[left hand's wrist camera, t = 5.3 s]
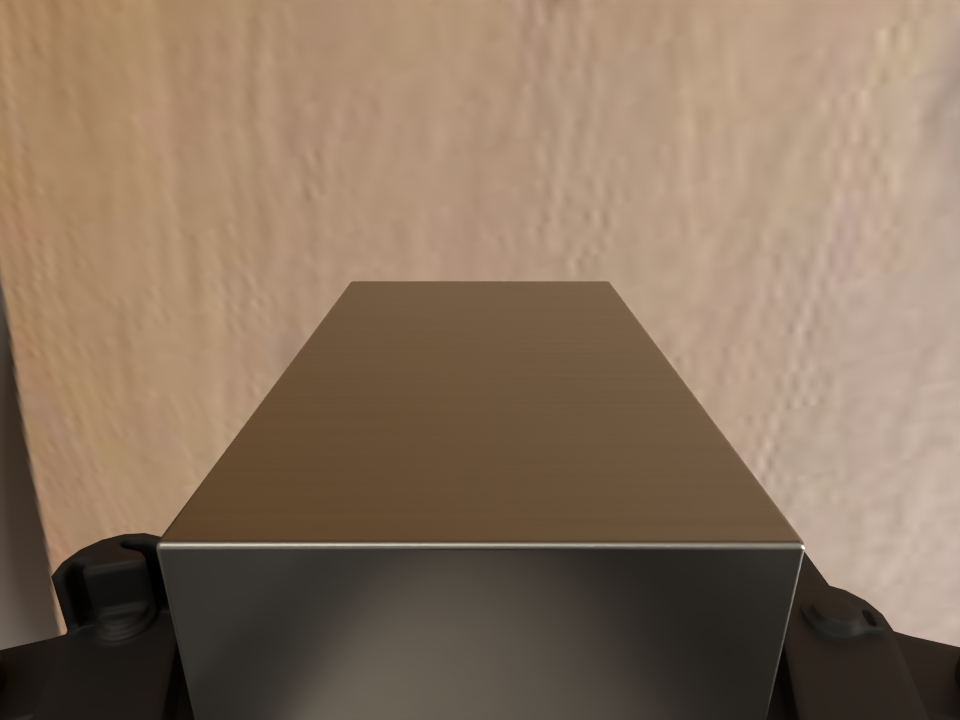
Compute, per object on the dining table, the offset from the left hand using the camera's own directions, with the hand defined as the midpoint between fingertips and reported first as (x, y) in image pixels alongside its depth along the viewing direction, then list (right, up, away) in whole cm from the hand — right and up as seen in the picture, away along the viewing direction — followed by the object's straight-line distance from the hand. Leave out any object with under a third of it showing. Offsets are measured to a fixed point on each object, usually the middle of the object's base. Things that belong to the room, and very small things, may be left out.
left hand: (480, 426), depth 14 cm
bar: (0, -9, +4) cm, 10 cm away
